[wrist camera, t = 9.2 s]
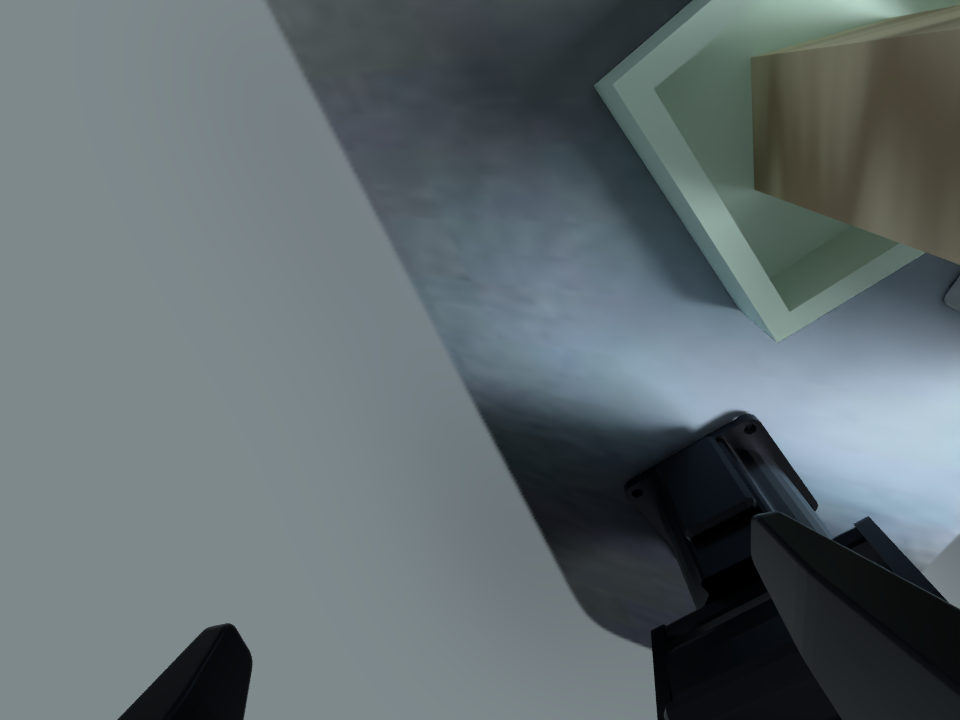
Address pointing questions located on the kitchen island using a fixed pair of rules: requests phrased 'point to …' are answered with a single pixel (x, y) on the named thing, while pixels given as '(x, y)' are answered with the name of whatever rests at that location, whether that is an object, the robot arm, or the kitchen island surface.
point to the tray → (746, 154)
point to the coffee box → (953, 296)
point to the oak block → (867, 128)
